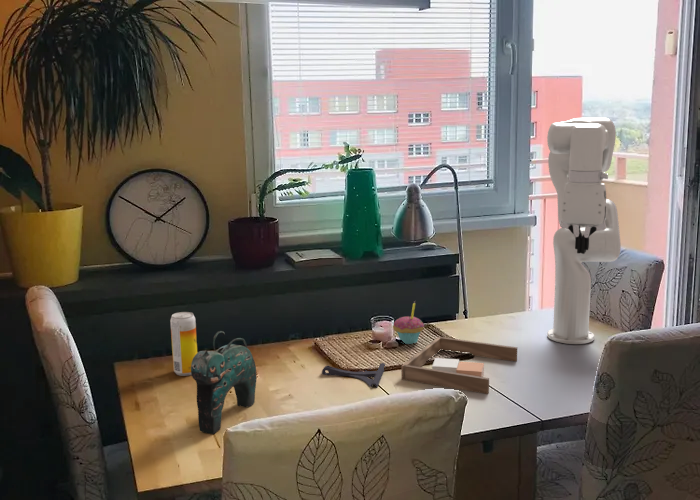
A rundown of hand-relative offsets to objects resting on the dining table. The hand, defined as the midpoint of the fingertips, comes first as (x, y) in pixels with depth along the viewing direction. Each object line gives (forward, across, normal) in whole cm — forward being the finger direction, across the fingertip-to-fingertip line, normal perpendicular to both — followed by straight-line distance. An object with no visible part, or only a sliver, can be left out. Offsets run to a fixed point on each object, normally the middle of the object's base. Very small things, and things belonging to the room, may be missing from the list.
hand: (581, 252), depth 184 cm
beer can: (+29, +87, +46) cm, 103 cm away
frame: (+29, +25, +15) cm, 41 cm away
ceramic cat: (+29, +61, +64) cm, 93 cm away
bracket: (+30, +48, +30) cm, 64 cm away
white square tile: (+29, +28, +19) cm, 45 cm away
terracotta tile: (+29, +22, +19) cm, 41 cm away
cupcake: (+29, +46, 0) cm, 55 cm away
